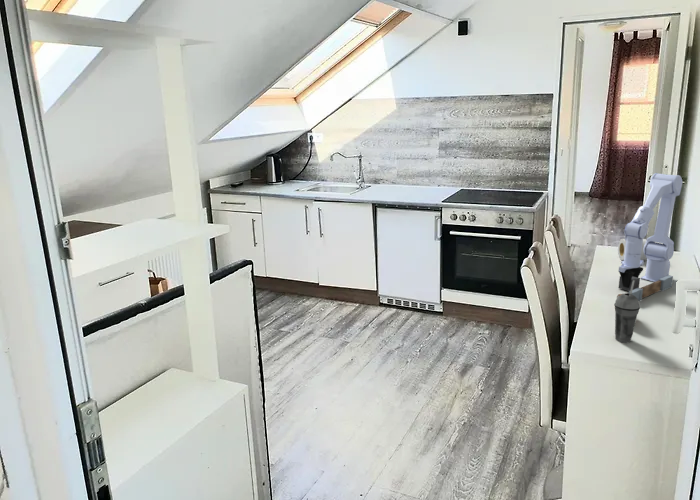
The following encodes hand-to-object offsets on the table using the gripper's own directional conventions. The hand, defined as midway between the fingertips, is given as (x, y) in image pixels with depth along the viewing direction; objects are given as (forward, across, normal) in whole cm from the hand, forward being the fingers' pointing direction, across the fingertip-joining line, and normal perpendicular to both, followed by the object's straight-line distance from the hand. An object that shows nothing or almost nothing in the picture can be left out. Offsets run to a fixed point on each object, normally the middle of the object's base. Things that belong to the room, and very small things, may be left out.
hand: (628, 285), depth 219 cm
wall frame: (+2, 0, +8) cm, 8 cm away
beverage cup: (+2, +44, +23) cm, 50 cm away
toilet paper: (+2, -40, -20) cm, 44 cm away
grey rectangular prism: (+1, 0, 0) cm, 1 cm away
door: (+1, -1, +8) cm, 8 cm away
